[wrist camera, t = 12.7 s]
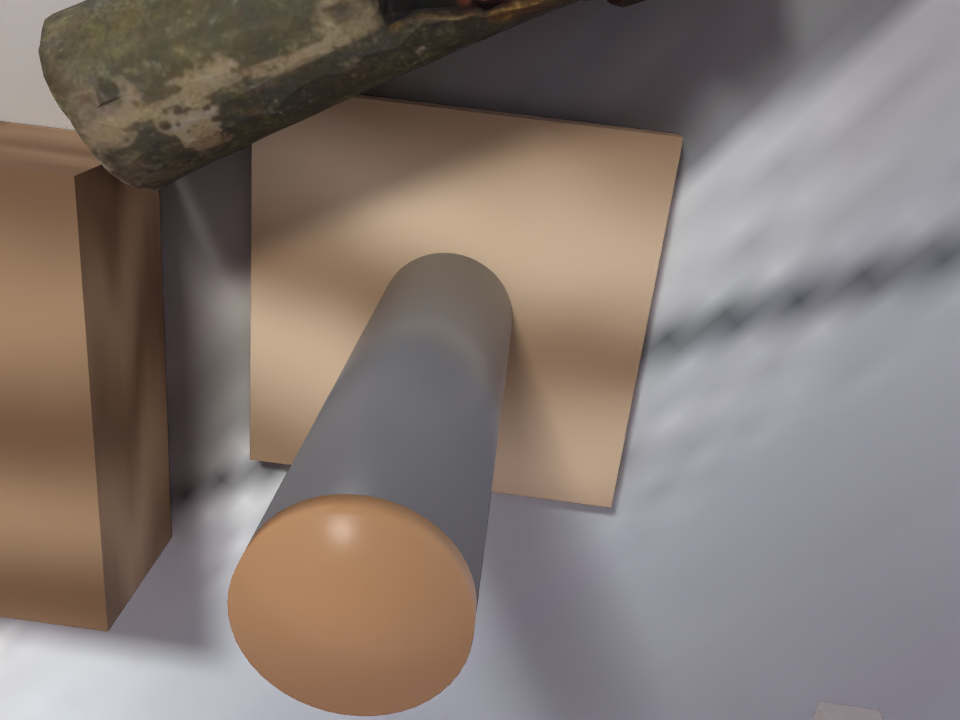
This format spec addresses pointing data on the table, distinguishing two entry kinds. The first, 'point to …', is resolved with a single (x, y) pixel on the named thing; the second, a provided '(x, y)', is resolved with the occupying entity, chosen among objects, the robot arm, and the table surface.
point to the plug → (385, 505)
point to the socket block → (78, 383)
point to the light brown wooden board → (475, 234)
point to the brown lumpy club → (238, 68)
